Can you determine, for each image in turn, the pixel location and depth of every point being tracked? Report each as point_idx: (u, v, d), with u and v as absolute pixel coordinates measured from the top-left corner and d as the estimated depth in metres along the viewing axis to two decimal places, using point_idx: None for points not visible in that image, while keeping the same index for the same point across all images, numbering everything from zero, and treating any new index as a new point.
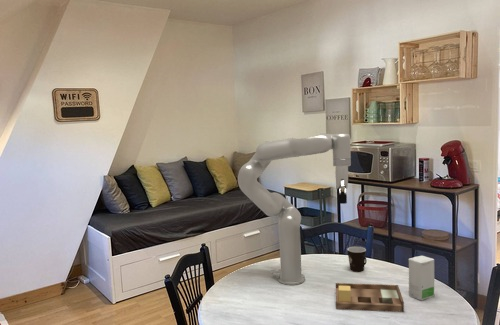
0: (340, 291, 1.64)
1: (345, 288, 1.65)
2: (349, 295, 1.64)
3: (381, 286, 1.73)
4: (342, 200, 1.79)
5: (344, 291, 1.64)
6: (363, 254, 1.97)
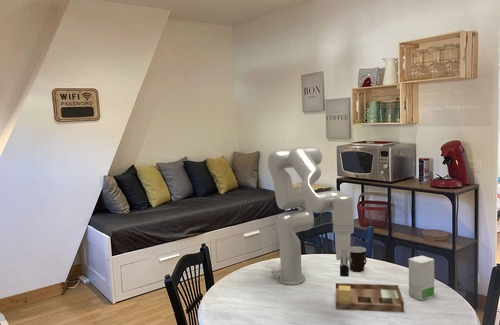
0: (340, 291, 1.64)
1: (345, 288, 1.65)
2: (349, 295, 1.64)
3: (381, 286, 1.73)
4: (343, 273, 1.56)
5: (344, 291, 1.64)
6: (363, 254, 1.97)
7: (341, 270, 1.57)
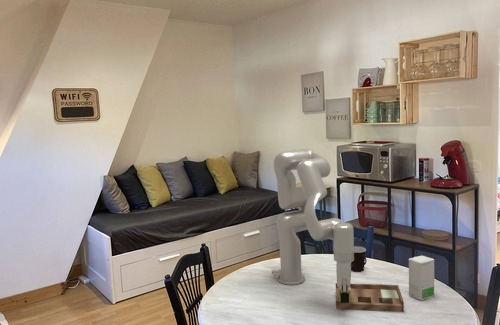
0: None
1: None
2: (349, 295, 1.64)
3: (381, 286, 1.73)
4: (344, 299, 1.60)
5: None
6: (363, 254, 1.97)
7: (341, 296, 1.61)
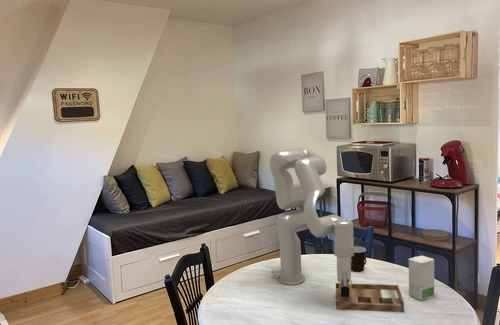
0: (340, 284, 1.70)
1: None
2: (349, 288, 1.69)
3: (381, 286, 1.73)
4: (344, 294, 1.64)
5: None
6: (363, 254, 1.97)
7: (342, 291, 1.65)
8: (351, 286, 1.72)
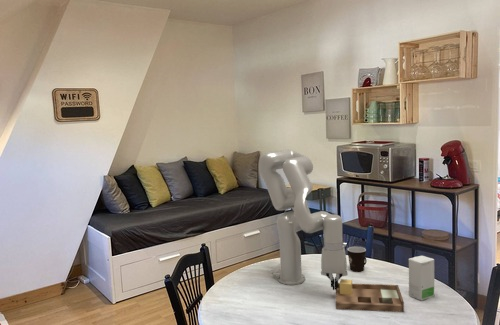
0: (341, 284, 1.70)
1: (346, 282, 1.71)
2: (349, 288, 1.69)
3: (381, 286, 1.73)
4: None
5: (344, 285, 1.70)
6: (363, 254, 1.97)
7: None
8: None
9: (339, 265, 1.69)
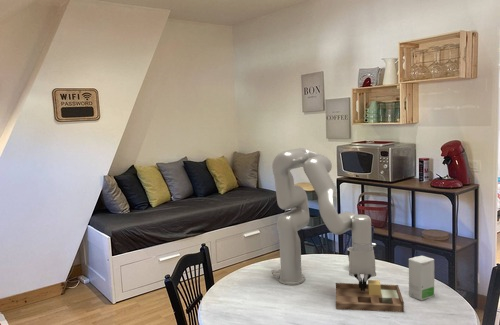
0: (370, 285, 1.68)
1: (375, 282, 1.69)
2: (379, 289, 1.67)
3: (381, 286, 1.73)
4: None
5: (374, 286, 1.68)
6: None
7: None
8: None
9: (368, 266, 1.67)
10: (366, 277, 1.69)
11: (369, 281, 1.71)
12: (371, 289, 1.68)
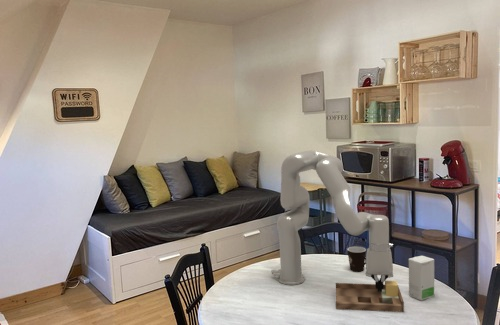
0: (387, 286, 1.67)
1: (392, 283, 1.68)
2: (396, 290, 1.66)
3: None
4: (375, 286, 1.70)
5: (391, 286, 1.66)
6: (363, 254, 1.97)
7: None
8: None
9: (385, 266, 1.66)
10: (383, 278, 1.68)
11: (386, 282, 1.69)
12: (388, 290, 1.67)
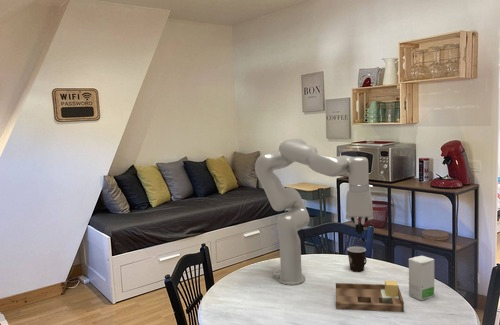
0: (387, 286, 1.67)
1: (392, 283, 1.68)
2: (396, 290, 1.66)
3: (381, 286, 1.73)
4: None
5: (391, 286, 1.66)
6: (363, 254, 1.97)
7: None
8: None
9: (365, 208, 1.65)
10: (363, 220, 1.66)
11: (386, 282, 1.69)
12: (388, 290, 1.67)
